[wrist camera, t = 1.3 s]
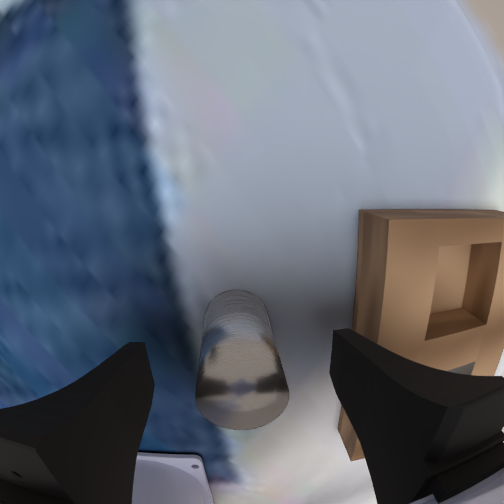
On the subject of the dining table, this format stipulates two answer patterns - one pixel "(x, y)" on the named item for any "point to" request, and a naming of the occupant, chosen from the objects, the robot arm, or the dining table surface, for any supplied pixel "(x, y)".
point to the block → (430, 290)
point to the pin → (239, 364)
